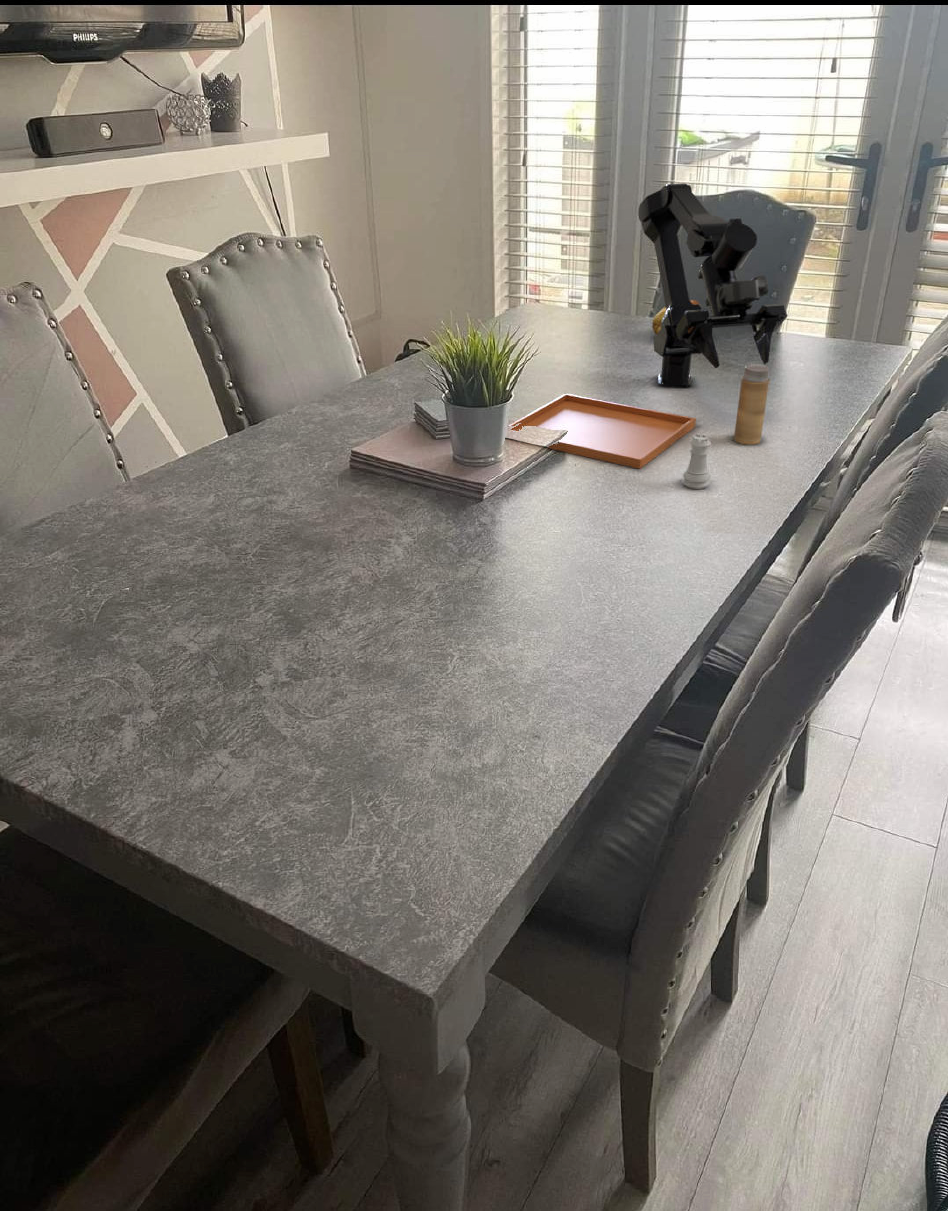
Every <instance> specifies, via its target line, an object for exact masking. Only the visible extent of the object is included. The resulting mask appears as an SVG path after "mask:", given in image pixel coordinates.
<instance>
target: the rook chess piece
mask: <svg viewBox="0 0 948 1211" xmlns="http://www.w3.org/2000/svg"><path fill="white" fill-rule="evenodd" d="M689 444H690V445H691V449H690V450H689V452H690V459H689V463H688V465H687V467H686V468H685V471H683V474H682V477H683V478H682V479H681V482H682V484H683V485H684V487H685V488H687V489H688V488H689V489H693V490H702V489H706V488H707V487H708V486H710V484H711V481H710V479H711V474H710V473H709V469H708V464H707V456H708V454H709V450H708V448H709V447H710V446H711V444H712V442H711V441H710V436H709V435H707V434H705V433H704V434H702V436H701V433H696V434H693V435H692V438H691V439H690V440H689Z"/></svg>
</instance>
